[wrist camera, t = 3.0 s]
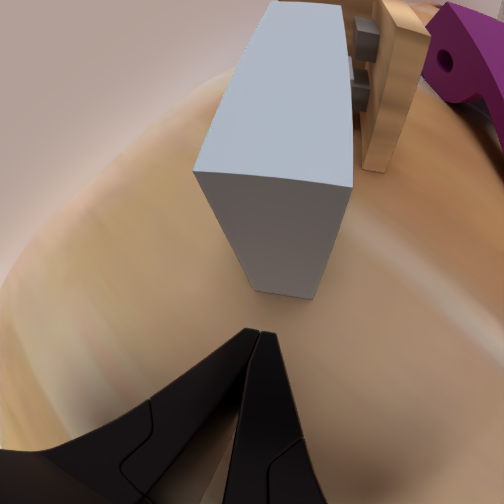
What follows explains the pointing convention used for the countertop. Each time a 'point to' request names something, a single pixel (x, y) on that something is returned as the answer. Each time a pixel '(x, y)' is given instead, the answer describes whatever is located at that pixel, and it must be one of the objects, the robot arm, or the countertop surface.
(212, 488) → the countertop surface
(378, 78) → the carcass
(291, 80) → the pale grey oblong block
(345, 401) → the countertop surface
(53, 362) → the countertop surface
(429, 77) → the mounting bracket
